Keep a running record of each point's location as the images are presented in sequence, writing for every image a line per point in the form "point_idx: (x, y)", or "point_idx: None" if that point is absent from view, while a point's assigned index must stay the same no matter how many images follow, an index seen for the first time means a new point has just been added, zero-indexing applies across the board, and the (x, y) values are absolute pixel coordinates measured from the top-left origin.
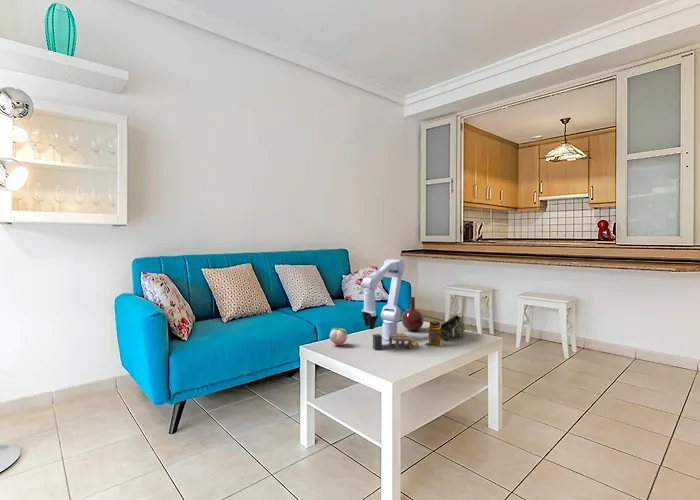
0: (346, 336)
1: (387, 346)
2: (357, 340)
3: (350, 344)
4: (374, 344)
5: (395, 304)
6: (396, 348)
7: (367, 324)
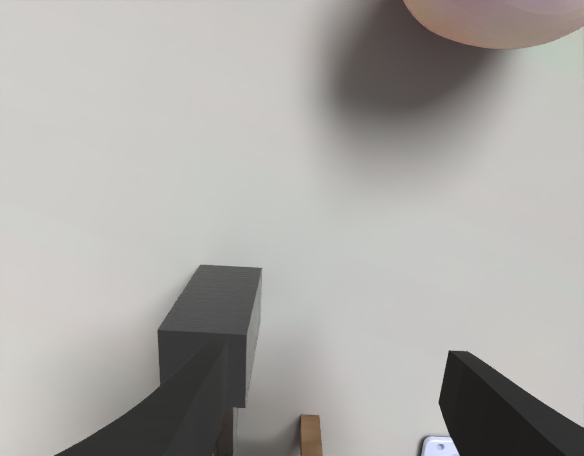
0: (430, 16)
1: None
2: (547, 223)
3: (449, 111)
4: (203, 284)
5: None
6: None
7: (452, 392)
